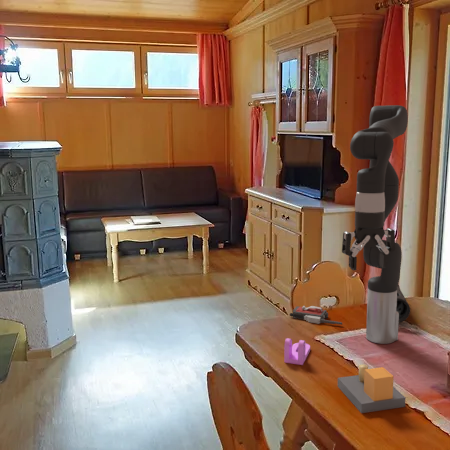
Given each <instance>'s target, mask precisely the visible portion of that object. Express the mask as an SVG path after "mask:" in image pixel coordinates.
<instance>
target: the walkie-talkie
mask: <svg viewBox="0 0 450 450" xmlns="http://www.w3.org/2000/svg"><path fill="white" fill-rule="evenodd" d="M289 317H292V318H293V319H297V318H298V320H303V321H304V320H306V321H305V322H307V321H308V323H312V324H317V325H320V324H321V323H322V324H324V323H325V324H331V325H335V324H336V325H343V322H341V321H335V320H327V319H328V318H329V312H327V310H326V309H324V308H322V307H321V306H314V305H311V306H308V307H306V306H305V305H303V306H297V305H296V306H295V307H294V308H293V309H292V312H290V313H289Z"/></svg>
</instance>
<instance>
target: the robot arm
mask: <svg viewBox="0 0 450 450" xmlns="http://www.w3.org/2000/svg"><path fill="white" fill-rule="evenodd" d="M408 116H409V114H408V110H407V108H406V107H405V106H403V105H399V104H398V105H397V104H396V105H395V104H394V105H393V104H392V105H390V104H389V105H373V107H371V110H370V113H369V120H368V121H369V122H368V124H369V127H368V128H364V129H360V130H358V131H357V132H356V133H355V134H353V137H352V138H351V139H350V144H349V145H350V146H349V149H350V152H351V155H352V156H353V157H354V158H356V159H357V160H369V167H367V168H362V169H360V170H358V172H357V173H356V196H355V200H354V201H355V202H354V230H353V231H352V232H351V231H350V232H349V231H346V230H345V231H344V232H343V233H342V246H341V253H342V254H344V255H346V256H348V267H349V268H350V269H351V270H352V271H354V272H355V271H357V267H358V266H357V265H358V264H357V261H358V259H357V258H358V257H357V255H358V254H359V253H360V251H363V255H362V256H363V261H364V262H365V264H366V265H367V266H368V267H369V266H370V267H373V268H377V269H381V271H380V275H377V276H372V277H371V278H369V279H368V281H367V296H366V297H367V298H366V301H367V302H366V327H365V328H366V331H365V334H366V335H365V338H366V340H368V341H370V342H372V343H375V344H382V345H383V344H384V345H386V344H387V345H388V344H391V343H394V342H395V341H398V340H399V324H400V322H399V313H398V312H397V311H396V307H397V286H398V285H399V281H400V277H401V268H402V260H403V259H402V257H403V255H402V248H401V245H400V244H399V243H397V242H396V231H395V229H392V228H390V227H387V228H386V229H385V228H384V227H385V222H386V220H387V218H388V217H389V216H390V214H391V213H392V211H393V210H394V208H395V206H396V205H397V203H398V200H399V188H400V187H399V186H400V179H399V175H398V173H397V172H396V170H395V168H394V166H393V164H391V161H390V158H391V156H392V152H393V149H394V139H396V138H398V137H400V136H403V134H405V132H406V131H407V128H408V122H409V121H408V120H409V119H408V118H409V117H408ZM384 236H385V237H386V238H385V240H384V239H383V238H384ZM353 238H354V239H355V240H354V239H353ZM352 240H354V241H353V243H352ZM351 243H352V244H351Z"/></svg>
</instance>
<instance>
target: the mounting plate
mask: <svg viewBox="0 0 450 450" xmlns="http://www.w3.org/2000/svg"><path fill="white" fill-rule="evenodd" d="M365 369H369V366H368V365H367V364H364V363H362V364H359V366H358V374H357V375H350V376H341V377H337V388H338V389H339V390H340V391H341V392H342V393H343V394H344V395H345V396H346V398H347V399H348V400H349V402H350V403H352V404H353V406H355V408H356V409H357V410H358V411H359V413H360V414H365V413H371V412H372V413H373V412H378V411H379V412H380V411H386V410H392V409H398V408H405V407H406V400H407V399H406V396H404V394H402V393H401V392H400V391H399V390H398V389H397V388H396V387H395V386H393V398H392V399H385V400H379V401H373V400H372V399H371V398H370V397H369V396H368V395H367V394H366V393H365V392H364V370H365Z"/></svg>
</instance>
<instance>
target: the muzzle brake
mask: <svg viewBox="0 0 450 450" xmlns="http://www.w3.org/2000/svg"><path fill="white" fill-rule="evenodd" d="M396 311H397V312H398V313H399V323H402V322H404V321H406V320H407V319H408V318H409V317H410V314H411V307H410V305H409V302H408V301H407V299H406V297H405V295H404V293H403V292H402V289H401V288H400V285H399V284H398V286H397V307H396Z"/></svg>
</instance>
